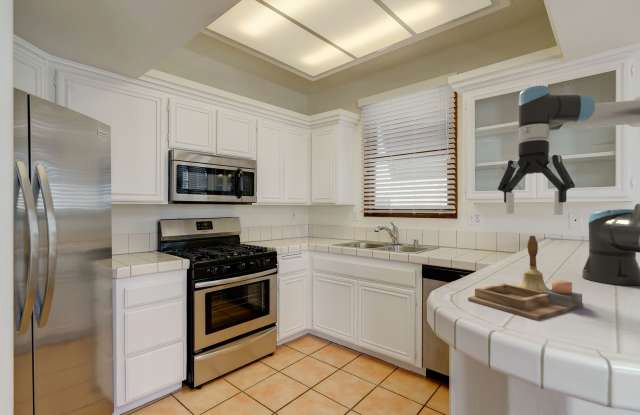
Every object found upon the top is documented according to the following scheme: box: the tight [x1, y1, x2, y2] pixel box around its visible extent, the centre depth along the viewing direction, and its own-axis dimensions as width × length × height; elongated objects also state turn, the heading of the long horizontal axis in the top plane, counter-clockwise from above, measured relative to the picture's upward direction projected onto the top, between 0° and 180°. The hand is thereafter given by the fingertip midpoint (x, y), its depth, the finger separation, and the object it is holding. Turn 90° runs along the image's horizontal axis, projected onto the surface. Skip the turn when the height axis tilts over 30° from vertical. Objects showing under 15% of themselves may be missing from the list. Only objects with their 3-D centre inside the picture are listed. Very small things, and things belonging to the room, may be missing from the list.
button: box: [551, 279, 573, 294], centre depth 82 cm, size 4×4×2 cm
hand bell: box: [517, 235, 550, 292], centre depth 97 cm, size 8×8×16 cm
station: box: [467, 283, 584, 321], centre depth 83 cm, size 20×17×3 cm
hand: (532, 214), depth 97 cm, fingers open, 13 cm apart
